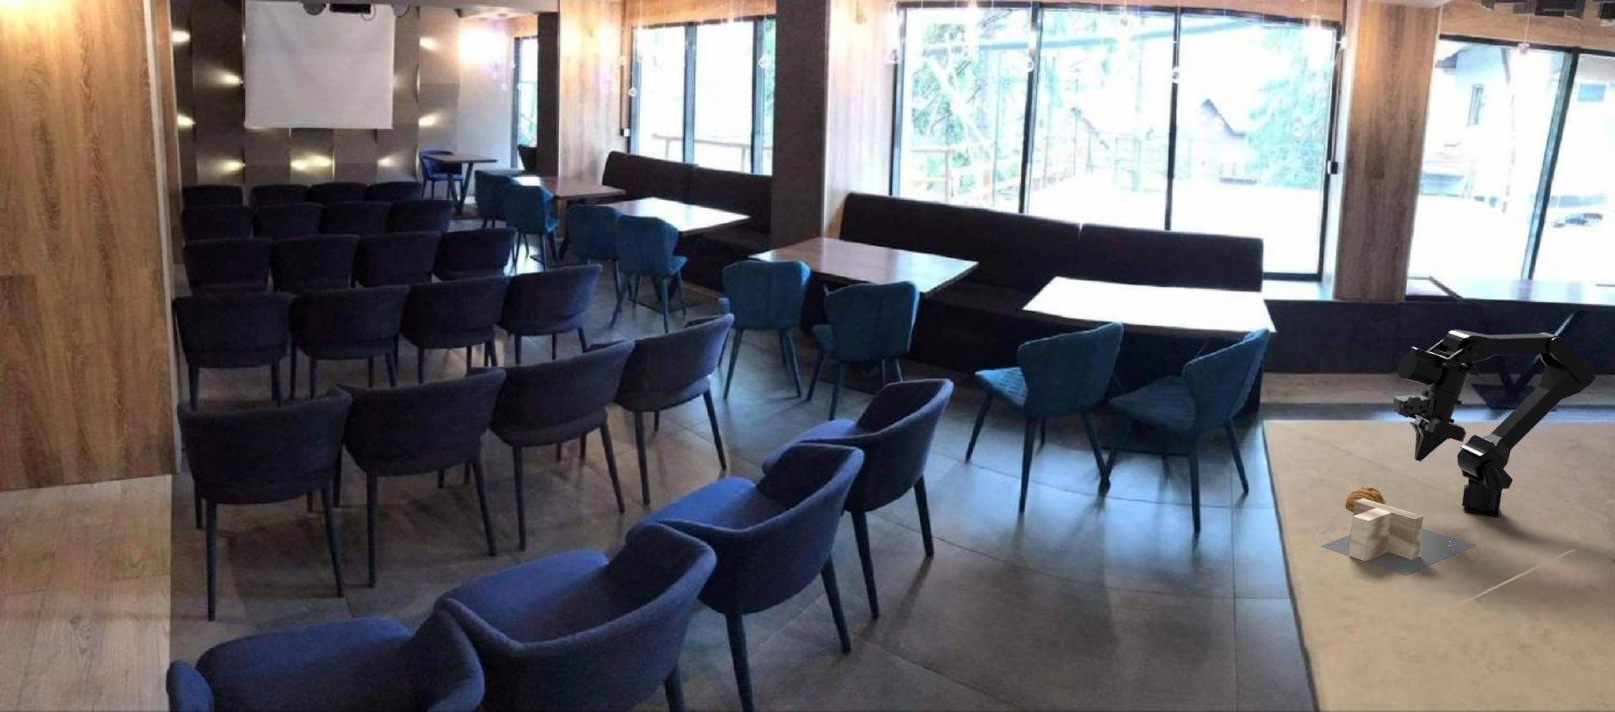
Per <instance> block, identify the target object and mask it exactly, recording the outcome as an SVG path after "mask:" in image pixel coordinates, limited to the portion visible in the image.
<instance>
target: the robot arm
mask: <svg viewBox="0 0 1615 712" xmlns="http://www.w3.org/2000/svg"><path fill="white" fill-rule="evenodd" d="M1518 355H1521V356H1523V355H1525V356H1526V355H1539V357H1540V360H1541V361H1542V363H1543V364H1544V365H1545V366H1546V367H1545V368H1544V370H1543V371H1542V374H1541V378H1540V381H1539V385H1538V386H1537V387H1536V388H1535V389H1533V391H1532V392H1531V393H1530V394H1529V395H1528V396H1527V397H1525V399H1523V401H1522V402H1521V403H1520V404H1519V405H1518V406H1517V407H1516V408H1514V409H1513V411H1512V412H1511V413H1510V414H1509V415H1507V417H1505V419H1504V420H1503V421H1502V422H1501V423H1500V424H1499V425H1497V426H1496V427H1495V429H1494V430H1492V432H1491V433H1490V434H1488V435H1487V434H1486V435H1485V436H1481V435H1479V434H1475V433H1474V434H1473V435H1472V436H1471V437H1470V438H1469V439H1468V440H1467V442H1466V443H1464V444H1463V445H1460V446H1459V448H1460V451H1459V452H1458V454H1457V455H1456V458H1457V459H1456V460H1457V462H1456V463H1457V465H1458V467H1459V469H1460V470H1461V473H1462V477H1464V478H1466V479H1468V483H1467V484H1464V487H1463V496H1462V501H1461V506H1462V507H1463V512H1465V511H1467V512H1466V513H1471V512H1472V514H1477V513H1478V515H1485V516H1490V515H1491V517H1500V515H1501V514H1500V513H1501V512H1500V510H1501V508H1500V507H1501V500H1502V494H1503V493H1502V492H1503V490H1505V489H1506V490H1507V489H1510V487H1511V485H1512V482H1513V480H1514V479H1513V478H1512V477H1511V476H1510V475H1509V474H1508V472H1507V471H1506V470H1505V467H1506V466H1507V465H1508V463H1509V459H1510V454H1511V451H1512V449H1514V447H1516V445H1518V444H1519V442H1521V440H1523V439H1524V438H1525V437H1526V436H1527V434H1528V433H1529V432H1530V431H1531V430H1532V429H1534V427H1536V426H1537V425H1538V424H1539V423H1540V422H1541V421H1542V420H1543V419H1544V418H1545V417H1546V416H1547V415H1548V414H1549V413H1550V412H1551V411H1552V410H1553V409H1554V408H1555V407H1556V406H1557V405H1558V404H1559V403H1560V402H1561V401H1562V400H1566V399H1568V398H1570V397H1573V396H1575V395H1578V394H1581V392H1582V391H1584V390H1585V389H1586V388H1588V387H1590V386H1591V385H1592V384H1593V383H1594V382H1595V380H1596V378H1597V376H1596V373H1597V372H1596V371H1597V370H1596V367H1595V365H1594V364H1593V363H1592V362H1591V361H1588V360H1586V359H1585V358H1584V357H1583V356H1582V355H1581V354H1579V353H1578V352H1577V351H1576V350H1574V349H1573V347H1571V346H1569V345H1568V344H1567V343H1566V341H1565V339H1563V338H1562V337H1560V336H1559V335H1555V334H1552V333H1549V332H1539V333H1522V334H1521V333H1518V334H1515V333H1514V334H1483V333H1478V332H1473V331H1469V330H1461V329H1453V330H1450V331H1448V332H1447V334H1446V335H1444V338H1442V339H1441V340H1440V341H1439V342H1436V344H1435V345H1433V346H1432V347H1430V348H1428V350H1426V351H1425V350H1424V349H1421V348H1417V347H1415V346H1412V347H1411V348H1410V351H1409V352H1407V353H1405V354H1403V356H1402V357H1401V359H1399V361H1398V364H1397V375H1398V377H1399V378H1401V379H1402V380H1406V381H1410V382H1414V383H1417V384H1420V385H1421V384H1422V385H1425V386H1430V387H1429V389H1427V388H1425V389H1423V390H1422V392H1421V394H1420V395H1413V394H1412V395H1411V394H1410V395H1396V396H1393V412H1394V413H1397V414H1398V415H1400V416H1402V417H1404V418H1407V419H1408V418H1411V419H1413V420H1414V422H1412V421H1410V422H1409V425H1411V427H1412V428H1413V430H1414V431H1415V446H1414V449H1415V450H1414V460H1415V461H1417V462H1422V461H1424V459H1426V458H1427V457H1428V456H1429V455H1430V454H1431V453H1432V452H1433V451H1435V450H1436V449H1437V448H1438V447H1439V446H1441V445H1442V444H1443V443H1444V442H1445V441H1447V440H1450V439H1452V440H1455V441H1458V442H1460V443H1461V442H1462V443H1463V442H1464V440H1465V438H1466V436H1467V432H1466V430H1465V428H1464V427H1463V426H1461V425H1459V424H1457V423H1455V420H1456V419H1453V418H1452V417H1453V414H1454V413H1455V412H1454V411H1455V409H1456V407H1457V406H1459V407H1461V405H1462V403H1463V401H1462V400H1460V397H1461V394H1462V391H1463V389H1464V387H1465V385H1466V382H1467V379H1468V377H1469V375H1470V376H1474V377H1479V376H1480V374H1481V373H1480V372H1479V371H1478V369H1477V367H1476V364H1475V363H1477V362H1481V361H1486V360H1488V359H1491V358H1492V357H1496V356H1518Z"/></svg>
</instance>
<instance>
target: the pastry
mask: <svg viewBox="0 0 1615 712" xmlns="http://www.w3.org/2000/svg"><path fill="white" fill-rule="evenodd" d="M1362 498H1364V499H1367V500H1370V501H1374V502H1377V503H1381V504H1384V505H1386V500H1385V499H1384V497H1383V495H1382V494H1381V491H1380V490H1378V489H1377V488H1374V487H1372V486H1370V487H1369V486H1368V487H1361V488H1359V489H1357V490H1353V491H1351V493H1350V494H1349V495H1348V496H1347V497H1346V501H1345V508H1346V509H1347V510H1348V511H1353V510H1354V501H1357V500H1359V499H1362Z"/></svg>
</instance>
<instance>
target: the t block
mask: <svg viewBox="0 0 1615 712" xmlns="http://www.w3.org/2000/svg"><path fill="white" fill-rule="evenodd" d="M1352 512H1353V513H1352V520H1351V528H1350V535H1351V537H1350V540H1351V541H1350V550H1349V556H1348V557H1351V558H1354V559H1356V560H1361V561H1363V562H1366V561H1365V560H1368V559H1370V558H1373V557H1375V556H1378V555H1380V554H1382V553H1385V552H1389V553H1393V554H1396V555H1399V556H1402V557H1405V558H1408V559H1412V558H1414V557H1417V556H1418V555H1419V547H1420V539H1421V531H1422V529H1423V521H1424V515H1420V514H1417V513H1413V512H1411V511H1407V510H1404V509H1401V508H1397V507H1395V506H1391V505H1387V504H1381V503H1377V502H1374V501H1370V500H1367V499H1364V498H1362V499H1359V500H1357V501H1354V510H1352Z"/></svg>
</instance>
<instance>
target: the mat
mask: <svg viewBox="0 0 1615 712" xmlns="http://www.w3.org/2000/svg"><path fill="white" fill-rule="evenodd" d="M1350 537H1351V534H1349V535H1346V536H1344V537H1343V536H1342V537H1341V538H1337V539H1335V540H1333V541H1330V542H1327V543H1324V544H1322V545H1320V547H1321V548H1325V549H1328V550H1331V551H1333V552H1337V553H1340V554H1342V555H1345V556H1348V557H1350V556H1349V550H1350V541H1351V540H1350ZM1449 541H1451V542H1449ZM1448 545H1449V546H1448ZM1450 545H1451V546H1450ZM1475 546H1476V544H1474V543H1471V542H1468V541H1465V540H1461V539H1458V538H1455V537H1452V536H1449V535H1448V536H1447V535H1444V534H1441V533H1437V532H1434V531H1431V530H1429V529H1424V528H1422V531H1421V539H1420V547H1419V555H1418V556H1417V557H1414V558H1412V559H1408V558H1405V557H1402V556H1399V555H1396V554H1393V553H1389V552H1385V553H1382V554H1380V555H1378V556H1375V557H1373V558H1370V559H1368V560H1365V561H1364V562H1366V563H1368V564H1371V565H1375V566H1378V567H1379V568H1383V569H1386V570H1390V571H1393V572H1395V573H1398V574H1401V575H1405V576H1408V575H1409V574H1412V573H1415V572H1417V571H1419V570H1421V569H1424V568H1426V567H1428V566H1431V565H1433V564H1436V563H1437V562H1440V561H1442V560H1445V559H1447V558H1449V557H1452V556H1455V555H1456V554H1459V553H1462V552H1464V551H1466V550H1468V549H1471V548H1473V547H1475ZM1452 549H1453V550H1452Z"/></svg>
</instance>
